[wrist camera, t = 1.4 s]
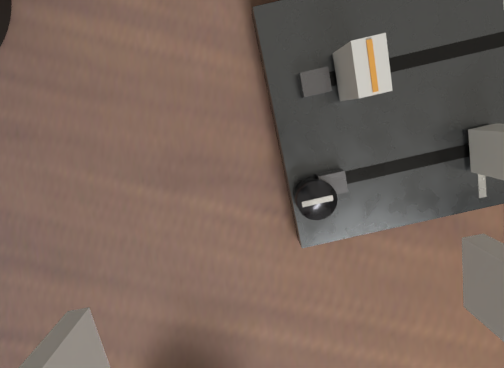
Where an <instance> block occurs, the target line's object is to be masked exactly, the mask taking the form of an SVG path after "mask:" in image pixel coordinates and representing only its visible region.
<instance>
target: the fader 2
mask: <svg viewBox="0 0 504 368" xmlns="http://www.w3.org/2000/svg"><path fill="white" fill-rule="evenodd" d="M468 136H469V151H470V166H471V172H473V173H477V174H481V175H485V176H489V177H493V178H496V179H500V180H504V124H501V123H495V124H490V125H486V126H482V127H477V128H473V129H468Z"/></svg>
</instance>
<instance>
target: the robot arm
mask: <svg viewBox="0 0 504 368" xmlns="http://www.w3.org/2000/svg"><path fill="white" fill-rule="evenodd" d="M10 15H11V0H0V46H1V44H2V42H3V40H4V38H5V36H6V33H7V30H8V26H9V21H10ZM462 262H463V300H464V308H466V309H467V310H468V311H469V312H470V313H471V314H472V315H474V316H475V317H476V318H477V319H478V320H479V321H480V322H482V323H483V324H484V325H485V326H486V327H487V328H489V329H490V330H491V331H492V332H493V333H494V334H495V335H497V336H498V337H499V338H500V339H501V340H502V341H503V342H504V244H503V243H501V242H499V241H497V240H495V239H493V238H491V237H489V236H487V235H485V234H480V235H474V236H469V237H463V238H462ZM19 368H110V365H109V362H108V359H107V357H106V354H105V351H104V348H103V345H102V342H101V339H100V337H99V334H98V331H97V328H96V325H95V322H94V320H93V317H92V314H91V311H90V308H89V307H88V308H83V309H77V310H72V311H67V313H66V314H65V315H64V316H63V317H62V318H61V320H60V321H59V322H58V323H57V324H56V325H55V326H54V328H53V329H52V330H51V331H50V332H49V333H48V335H47V336H46V337H45V338H44V339H43V340H42V341H41V343H40V344H39V345H38V346H37V347H36V348H35V350H34V351H33V352H32V353H31V354H30V355H29V356H28V358H27V359H26V360H25V361H24V362H23V363H22V365H21V366H20V367H19Z"/></svg>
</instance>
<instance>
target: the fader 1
mask: <svg viewBox="0 0 504 368" xmlns="http://www.w3.org/2000/svg"><path fill="white" fill-rule="evenodd" d="M332 54H333V60H334V67H335V73H336V80H337V86H338V93H339V99H340V101H345V100H352V99H359V98H363V97H368V96H372V95H376V94H381V93H385V92H389V91H393V90H392V81H391V73H390V64H389V56H388V47H387V38H386V33H382V34H378V35H373V36H369V37H365V38H361V39H356V40H352V41H350V42H348V43H347V44H345V45H344V46H342V47H341V48H340V49H338V50H337V51H335V52H334V53H332Z"/></svg>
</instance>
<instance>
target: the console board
mask: <svg viewBox="0 0 504 368" xmlns="http://www.w3.org/2000/svg"><path fill="white" fill-rule="evenodd" d="M252 17H253V22H254V27H255V32H256V36H257V41H258V46H259V51H260V56H261V61H262V66H263V70H264V75H265V80H266V85H267V90H268V95H269V100H270V105H271V109H272V114H273V119H274V124H275V129H276V134H277V139H278V144H279V148H280V153H281V158H282V163H283V168H284V173H285V178H286V183H287V187H288V192H289V197H290V202H291V207H292V212H293V217H294V222H295V226H296V231H297V236H298V241H299V243H300V245H301V247H302V248H305V247H310V246H314V245H319V244H323V243H328V242H332V241H337V240H341V239H346V238H350V237H355V236H359V235H364V234H368V233H373V232H377V231H382V230H386V229H391V228H395V227H400V226H404V225H409V224H413V223H418V222H422V221H427V220H431V219H436V218H440V217H445V216H449V215H454V214H458V213H463V212H467V211H472V210H476V209H481V208H485V207H490V206H494V205H499V204H503V203H504V180H500V179H496V178H493V177H489V176H485V175H481V174H477V173H473V172H471V166H470V151H469V136H468V129H473V128H477V127H482V126H486V125H490V124H495V123H501V124H504V0H280V1H276V2H272V3H267V4H263V5H259V6H255V7H253V10H252ZM382 33H386V38H387V47H388V56H389V64H390V73H391V81H392V90H393V91H389V92H385V93H381V94H376V95H372V96H368V97H363V98H359V99H352V100H345V101H340V99H339V93H338V86H337V80H336V73H335V67H334V60H333V54H332V53H334V52H335V51H337V50H338V49H340V48H341V47H342V46H344V45H345V44H347V43H348V42H350V41H352V40H356V39H361V38H365V37H369V36H373V35H378V34H382Z"/></svg>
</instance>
